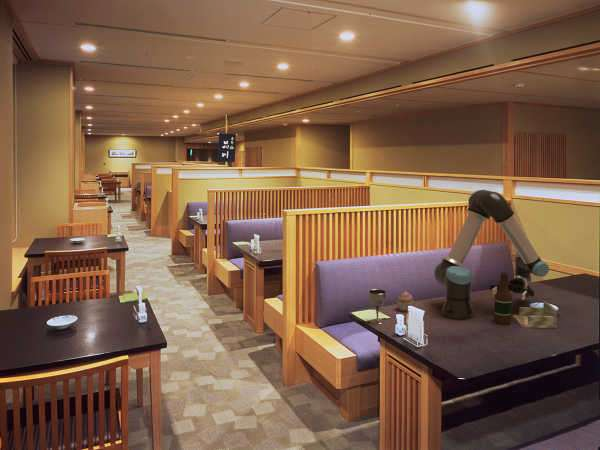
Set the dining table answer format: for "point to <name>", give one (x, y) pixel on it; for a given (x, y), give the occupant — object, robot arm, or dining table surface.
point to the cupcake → (405, 301)
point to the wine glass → (377, 302)
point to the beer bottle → (503, 302)
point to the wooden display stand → (537, 316)
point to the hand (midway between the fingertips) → (507, 294)
